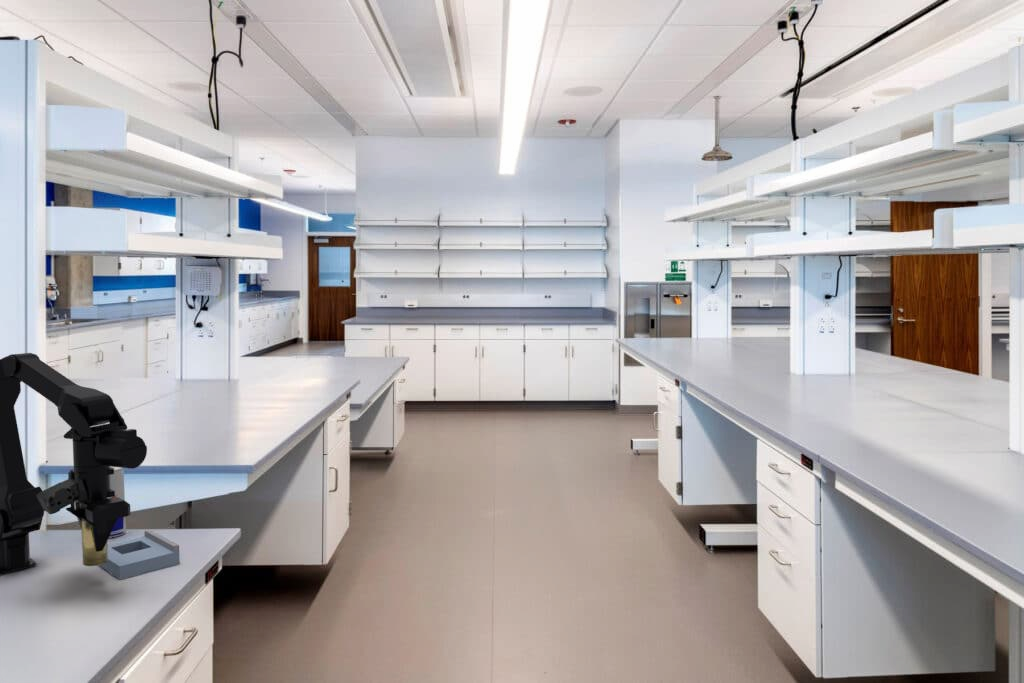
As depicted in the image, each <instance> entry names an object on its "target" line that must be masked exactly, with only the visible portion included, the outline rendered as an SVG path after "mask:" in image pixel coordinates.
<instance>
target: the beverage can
mask: <svg viewBox="0 0 1024 683" xmlns="http://www.w3.org/2000/svg"><path fill="white" fill-rule="evenodd" d="M110 467H111V466H110ZM111 468H114V474H111V475H110V485H111V489H112V490H114V491H115V496H113V497H108V498H107V499H109V498H115V497H118V498H120V499H122V500H124V501H126V500H125V499H126V498H125V495H126V494H125V471H124V468H120V467H111ZM126 525H127V524H126V517H122V518H118V520H117V522H116V524H115V526H114V528H113V530H112V532H111V534H110V536H109V538H108V539H111V538H112V537H113V538H118V537H120V536H122V535H124V534H125V533H126V532H127V527H126Z"/></svg>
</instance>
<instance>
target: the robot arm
mask: <svg viewBox="0 0 1024 683" xmlns="http://www.w3.org/2000/svg"><path fill="white" fill-rule="evenodd" d="M21 383H23V384H25V385H26V386H28V387H29V388H30V389H33V391H35V392H36V393H37V394H40V395H41V397H43V398H45V399H46V400H48V401H49V402H51V403H52V404H54V406H56V407H57V414H58V416H59V417H60V418H61V419H62V420H63V421H64V422H65V423H66V424H67V425H68V426H69V427H70V429H69V430H68V431H66V433H64V435H63V438H64V439H68V440H72V455H73V456H72V457H73V458H72V459H73V460H72V461H73V469H70V470H69V472H68V474H67V475H68V476H67V477H68V478H67V479H65V480H64V481H61V482H58V483H55V484H54V485H51V486H50V487H48V488H46V489H44V490H43V489H42V487H41V486H36V487H35V486H34V485H33V484H32V483H31V482H30V481H29V480H28V476H27V472H26V466H25V460H24V454H23V451H22V449H23V448H22V444H21V438H20V432H19V427H18V420H17V415H16V412H15V405H16V402H17V401H18V399H19V396H20V394H21V391H22V388H21V387H22V386H21ZM137 432H138V431H137V429H136V428H129V429H128V425H127V423H126V422H125V419H124V418H123V416H122V415H121V413H120V412H119V410H118V408H117V406H116V404H115V403H114V400H113V398H112V397H111V396H110V395H109V394H107V393H106V392H103V391H100V390H98V389H95V388H93V387H92V388H91V387H85V386H82V385H79V384H77V383H76V382H73V381H72V380H71V379H70V378H67V377H66V376H64V375H63V373H60V372H59V371H57V370H56V369H54V368H53V367H52V366H50V365H48V364H47V363H45V362H44V361H42V360H41V359H40V357H39V356H38V354H35V353H32V352H25V353H14V354H9V355H6V356H5V357H2V358H0V575H1V574H6V573H11V572H14V571H18V570H23V569H26V568H31V567H35V566H37V562H36V561H35V560H33V559H32V558H31V553H30V533H32V532H36V531H40V529H41V526H42V522H43V518H44V516H45V512H46V513H47V514H49V515H53V514H56V513H58V512H60V511H61V510H62V509H64V508H65V510H66V511H67V512H68V513H71V515H73V516H74V517H76V519H77V521H78V523H79V526H80V529H81V530H82V526H81V520H82V519H83V520H84V521H85V522H87V523H88V524H90V527H91V532H92V537H93V541H94V546H95V550H96V551H97V552H99V551H102V550H103V549H104V547H105V545H106V542H107V543H108V540H109V539H110V538H109V536H110V534H111V532H112V530H113V528H114V526H115V524H116V522H117V520H118V518H122V517H125V518H126V517H129V516H131V515H132V514H131V504H130V503H129V502H128V501H126V500H125V501H124V500H122V499H120V498H118V497H115V498H109V499H107V498H108V497H113V496H115V491H114V490H112V489H111V485H110V475H111V474H114V468H111V467H120V468H123V469H132V470H133V469H137V468H138V467H140V466H141V465H142V464H143V462H144V461H145V460H146V457H147V455H148V454H147V453H148V446H147V445H146V443H145V441H144V439H143V438H142V437H141V436H138V433H137ZM110 466H111V467H110ZM67 506H68V507H67ZM69 506H70V507H69Z"/></svg>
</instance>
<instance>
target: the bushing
mask: <svg viewBox="0 0 1024 683" xmlns="http://www.w3.org/2000/svg"><path fill="white" fill-rule="evenodd" d="M81 526H82V529H81V546H82V547H81V550H82V552H81V553H82V565H83V566H86V567H94V566H95V567H96V566H99V565H101V564H104V563H106V562H107V561H108V547H107V545H108V541H107V542H106V545H105V547H104V549H103V550H102V551H99V552H97V551H96V550H95V546H94V541H93V537H92V532H91V527H90V524H88V523H87V522H85V521H84V520H83V519H82V520H81ZM81 526H80V527H81Z"/></svg>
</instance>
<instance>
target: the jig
mask: <svg viewBox="0 0 1024 683" xmlns="http://www.w3.org/2000/svg"><path fill="white" fill-rule="evenodd" d="M143 532H144V533H143V534H144V535H143V536H139V537H135V538H132V539H127V540H124V541H123V540H122V541H120V542H114V543H111V544H107V547H108V561H107V562H106V563H104V564H101V565H98V566H99V567H100V568H102V569H104V570H105V571H107V572H108V573H110V574H111V575H113V576H114V577H116V578H117V579H118V580H123V579H127V578H131V577H135V576H138V575H143V574H146V573H149V572H154V571H157V570H161V569H165V568H169V567H172V566H176V565H180V564H181V562H180V560H181V558H180V544H178V543H177V542H175V541H172V540H170V539H169V538H168V537H167V538H166V537H165V536H162V535H160V534H159V533H158V532H155V531H153V530H151V529H144V531H143Z"/></svg>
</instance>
